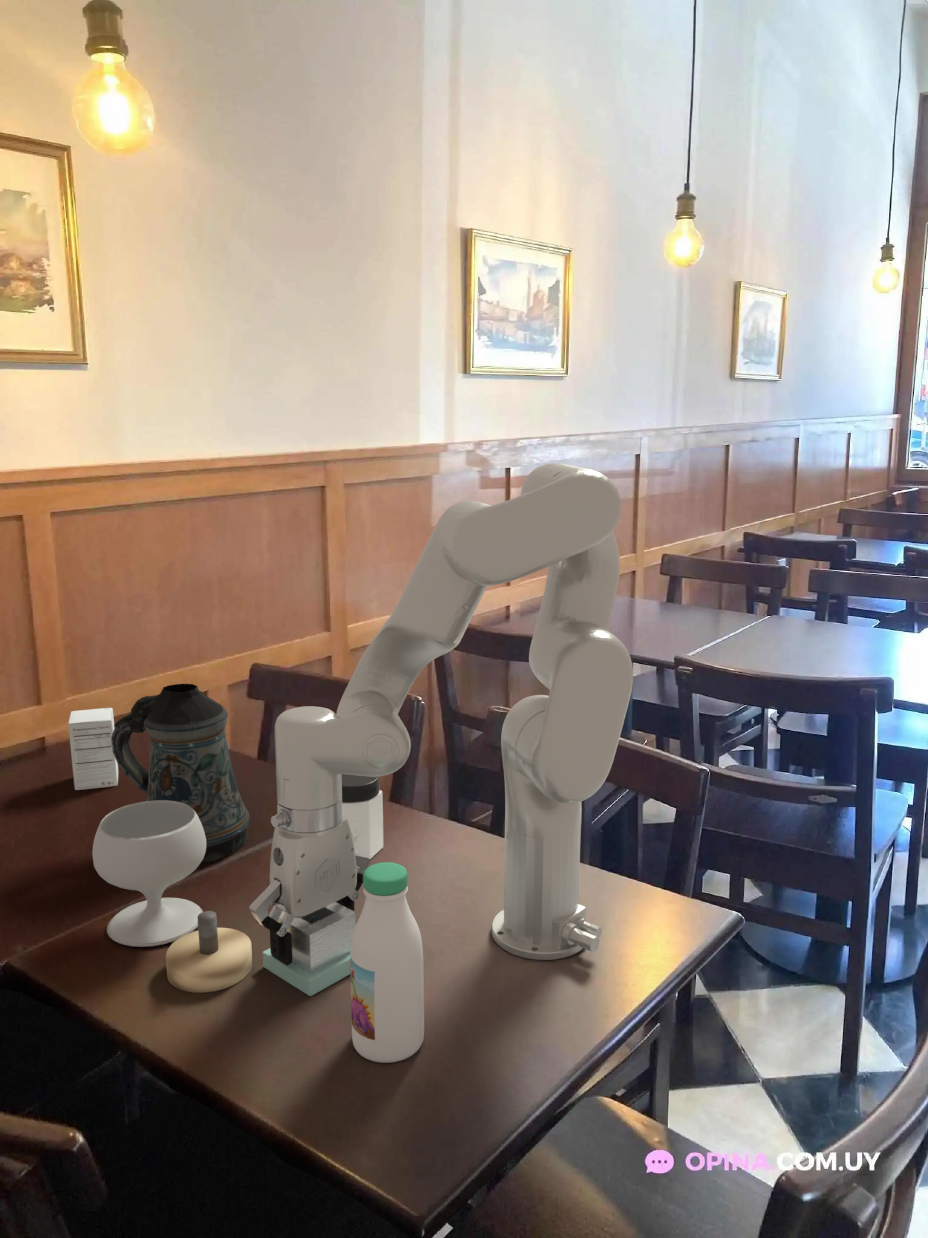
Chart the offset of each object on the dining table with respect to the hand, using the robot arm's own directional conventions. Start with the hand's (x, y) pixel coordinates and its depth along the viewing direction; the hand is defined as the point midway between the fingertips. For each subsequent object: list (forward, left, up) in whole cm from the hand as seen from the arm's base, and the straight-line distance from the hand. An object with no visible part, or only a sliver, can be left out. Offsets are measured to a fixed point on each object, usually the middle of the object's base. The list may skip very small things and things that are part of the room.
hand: (314, 943), depth 118 cm
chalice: (+23, +8, -3) cm, 24 cm away
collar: (0, 0, -1) cm, 1 cm away
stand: (0, 0, -3) cm, 3 cm away
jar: (+20, -24, -3) cm, 31 cm away
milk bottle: (-17, +4, -3) cm, 18 cm away
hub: (+9, +9, -3) cm, 13 cm away
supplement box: (+75, -11, -3) cm, 76 cm away
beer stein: (+41, -8, -3) cm, 42 cm away
